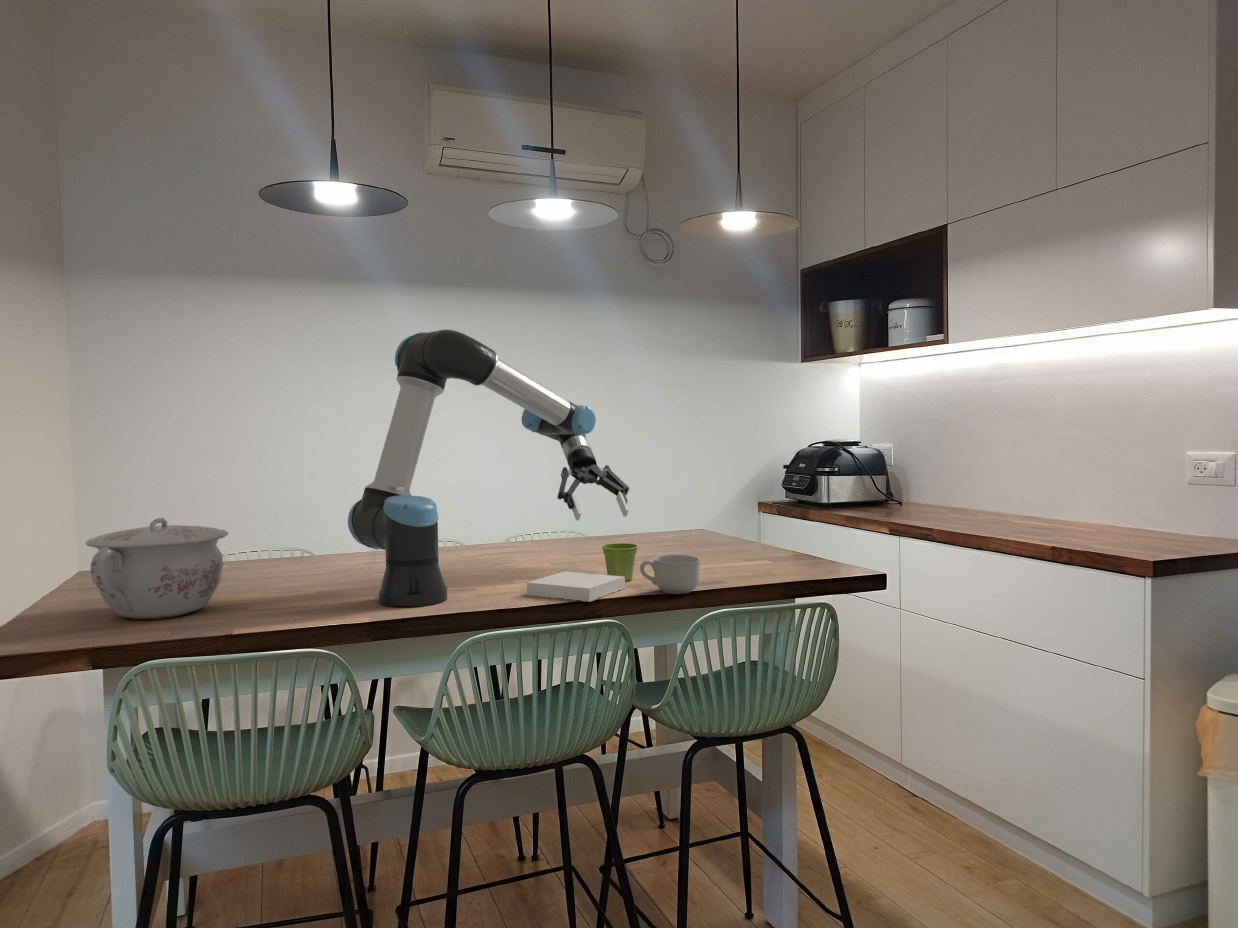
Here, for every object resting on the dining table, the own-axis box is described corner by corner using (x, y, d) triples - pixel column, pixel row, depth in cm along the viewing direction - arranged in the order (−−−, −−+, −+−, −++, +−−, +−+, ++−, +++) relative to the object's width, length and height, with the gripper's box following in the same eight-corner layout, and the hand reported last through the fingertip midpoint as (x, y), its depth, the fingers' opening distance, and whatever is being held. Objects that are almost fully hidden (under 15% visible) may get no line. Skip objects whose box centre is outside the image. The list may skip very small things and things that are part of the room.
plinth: (526, 595, 200) (526, 582, 200) (565, 583, 214) (565, 571, 214) (589, 601, 192) (589, 588, 192) (625, 589, 206) (624, 576, 206)
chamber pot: (214, 594, 207) (210, 508, 206) (247, 613, 186) (243, 517, 185) (76, 612, 190) (72, 518, 189) (95, 635, 168) (90, 529, 167)
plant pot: (646, 579, 218) (646, 545, 218) (621, 584, 211) (620, 549, 211) (619, 575, 224) (619, 541, 224) (594, 580, 218) (593, 546, 217)
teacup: (700, 587, 207) (700, 554, 206) (700, 596, 196) (699, 561, 195) (642, 587, 208) (641, 554, 208) (638, 596, 197) (638, 561, 197)
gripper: (616, 463, 247) (641, 521, 235) (533, 467, 237) (554, 527, 224) (624, 445, 242) (649, 503, 230) (539, 448, 232) (561, 509, 219)
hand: (602, 515), depth 227 cm, fingers open, 13 cm apart
